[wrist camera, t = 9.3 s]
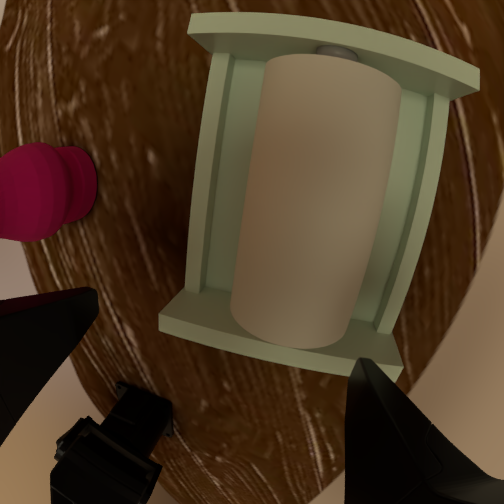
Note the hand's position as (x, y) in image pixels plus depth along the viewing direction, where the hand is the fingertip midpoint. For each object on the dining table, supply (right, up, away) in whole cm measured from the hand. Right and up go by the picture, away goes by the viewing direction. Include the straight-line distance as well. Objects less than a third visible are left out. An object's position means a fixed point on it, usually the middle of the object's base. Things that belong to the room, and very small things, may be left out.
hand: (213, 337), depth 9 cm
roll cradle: (+5, +6, +9) cm, 12 cm away
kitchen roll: (+4, +5, +5) cm, 8 cm away
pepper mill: (-14, +8, +12) cm, 20 cm away
